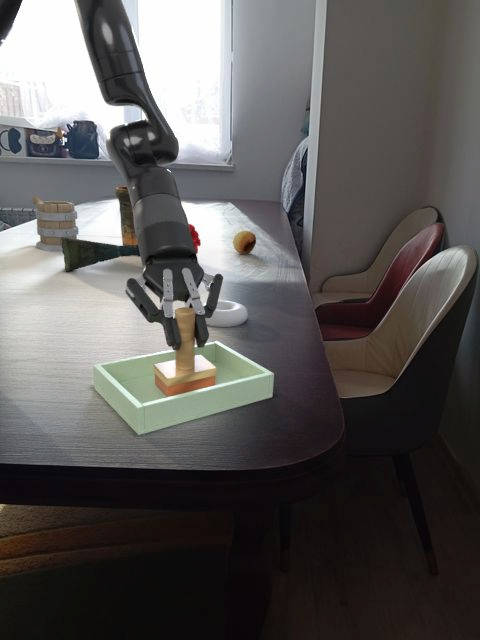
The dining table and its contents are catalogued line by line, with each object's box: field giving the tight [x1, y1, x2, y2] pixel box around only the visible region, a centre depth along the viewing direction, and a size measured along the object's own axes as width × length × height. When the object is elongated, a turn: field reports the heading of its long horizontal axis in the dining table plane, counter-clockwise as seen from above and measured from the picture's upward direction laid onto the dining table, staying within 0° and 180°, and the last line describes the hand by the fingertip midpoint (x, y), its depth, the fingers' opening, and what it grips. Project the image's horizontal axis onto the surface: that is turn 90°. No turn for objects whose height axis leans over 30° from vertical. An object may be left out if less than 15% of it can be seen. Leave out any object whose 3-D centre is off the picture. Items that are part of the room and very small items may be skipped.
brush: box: [153, 306, 217, 397], centre depth 69 cm, size 7×5×11 cm, turn 124°
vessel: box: [114, 185, 138, 246], centre depth 160 cm, size 14×14×20 cm
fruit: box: [232, 229, 257, 256], centre depth 169 cm, size 8×8×8 cm
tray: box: [92, 340, 275, 436], centre depth 70 cm, size 20×15×4 cm
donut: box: [202, 300, 249, 328], centre depth 101 cm, size 10×3×10 cm
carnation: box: [61, 223, 202, 273], centre depth 135 cm, size 16×18×35 cm
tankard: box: [30, 195, 79, 252], centre depth 164 cm, size 20×13×15 cm, turn 49°
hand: (190, 345), depth 66 cm, fingers closed on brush, 2 cm apart
